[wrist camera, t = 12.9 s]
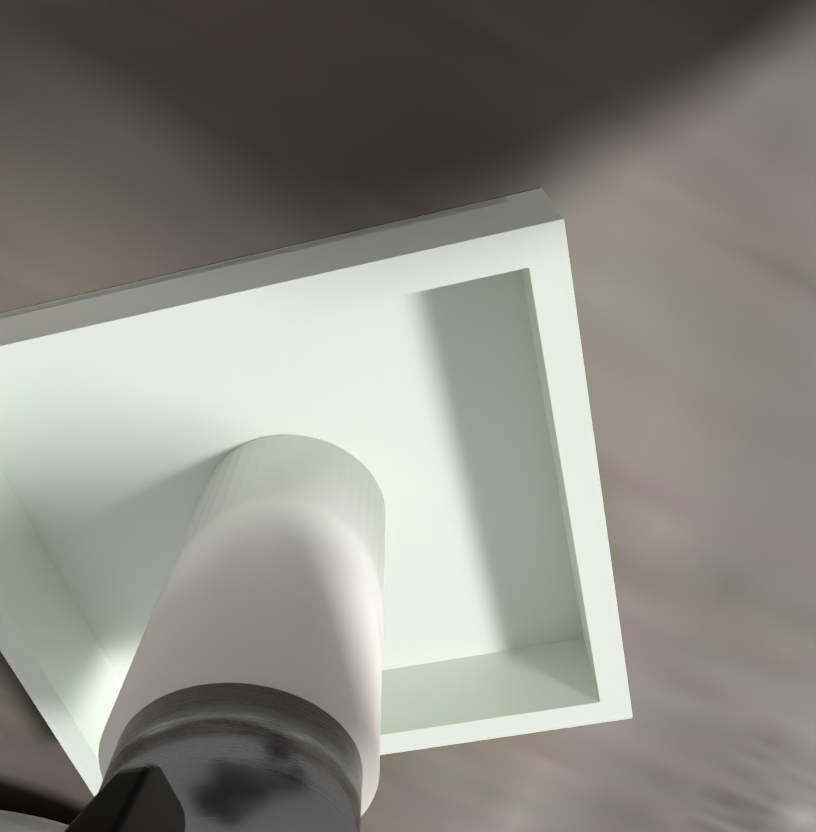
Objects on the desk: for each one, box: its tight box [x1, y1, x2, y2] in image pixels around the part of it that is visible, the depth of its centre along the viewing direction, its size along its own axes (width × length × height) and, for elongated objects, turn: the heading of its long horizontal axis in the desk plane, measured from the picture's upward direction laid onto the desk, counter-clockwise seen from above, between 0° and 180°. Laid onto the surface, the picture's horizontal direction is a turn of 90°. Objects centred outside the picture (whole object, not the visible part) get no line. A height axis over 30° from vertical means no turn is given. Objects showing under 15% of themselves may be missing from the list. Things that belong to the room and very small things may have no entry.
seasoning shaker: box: [98, 435, 386, 832], centre depth 17 cm, size 5×5×10 cm
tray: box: [0, 188, 633, 797], centre depth 20 cm, size 16×14×3 cm
